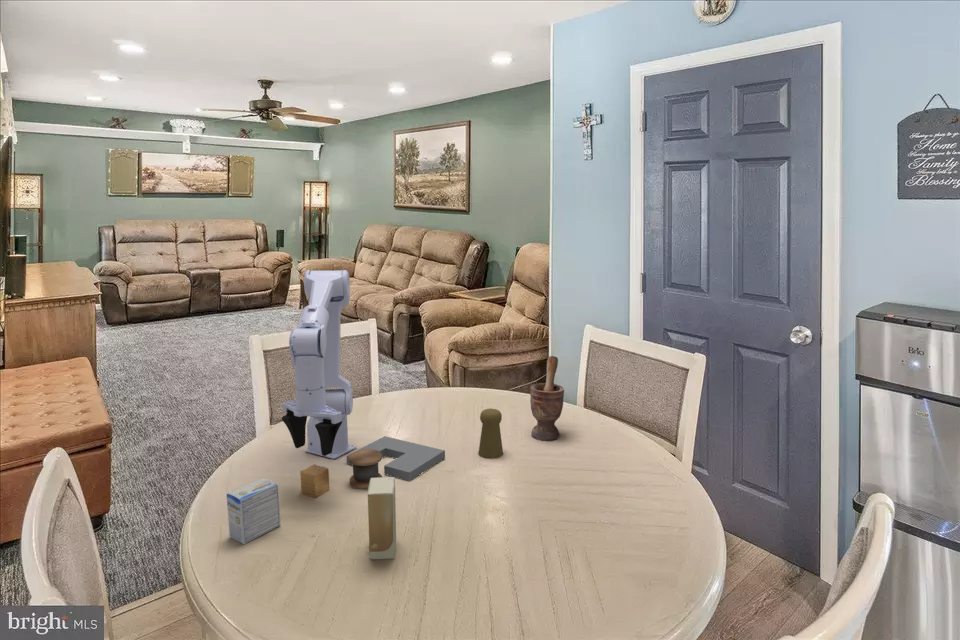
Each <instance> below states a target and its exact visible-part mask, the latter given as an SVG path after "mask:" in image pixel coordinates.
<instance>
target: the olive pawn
mask: <svg viewBox="0 0 960 640" xmlns="http://www.w3.org/2000/svg"><path fill="white" fill-rule="evenodd" d="M502 415H503V414H502V413H501V411H500V410H498V409H496V408H486V409H484V410H482V411H481V412H480V415H479V417H480V418H479V419H480V422H481V423H482V426H481V432H480V439H479V448H478V453H477V454H478V456H479V457H481V458H484V459H491V460H492V459H499V458H501V457H503V455H504V449H503V441H502V440H503V439H502V433H501V427H500V426H501V425H500V424H501V422H502V420H503V419H502V418H503V417H502Z"/></svg>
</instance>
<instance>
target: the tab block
mask: <svg viewBox="0 0 960 640" xmlns="http://www.w3.org/2000/svg"><path fill="white" fill-rule="evenodd" d="M329 470H330V469H329V467H325V466H322V465H318V464H312V465H310V466H308V467H306V468H304V469H302V470H300V471H299V472H300V473H299V474H300V476H299V477H300V492H301V494H302V495H304V496H307V497H310V498H313V499H317V498H319V497H321V496H322V495H325V494H326V493H328V492H330V474H329Z"/></svg>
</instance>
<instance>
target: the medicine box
mask: <svg viewBox="0 0 960 640" xmlns="http://www.w3.org/2000/svg"><path fill="white" fill-rule="evenodd" d="M226 504H227V505H226V506H227V516H228V518H227V519H228V531H229V537H230V538H231V539H233V540H235V541H237V542H238V543H240V544H241V545H245V544H247V543H249V542H251V541H253V540H255V539H256V538H259V537H261V536H263V535H265V534H267V533H268V532H270V531H273V530H274V529H276V528H278V527H281V515H280V513H281V512H280V511H281V510H280V508H281V507H280V492H279V484H278V483H277V482H274V481H272V480H270V479H267V478H264V477H262V478H260V479H257V480H256V481H253V482H251V483H248V484H246V485H243V486H241V487H239V488H236V489H235V490H232V491H230V492H228V493H226Z"/></svg>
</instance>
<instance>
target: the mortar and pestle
mask: <svg viewBox="0 0 960 640" xmlns="http://www.w3.org/2000/svg"><path fill="white" fill-rule="evenodd" d="M558 365H559V358H558V357H557V356H554V355H550V356H548V358H547V361H546V379H545V382H544V383H543V382H540V383H534V384H532V385H530V387H529V389H530V391H529V394H530V398H529V399H530V400H529V401H530V409H531V414H532V416H533V418H534V419H535V420H536V422H537V423H536V425H535V426H533V428H532V430H531V436H532V437H533V438H535V439H537V440H538V441H551V440H557V439H559V438H560V435H561V433H560V432H559V428H558V427H557V426H556V424H555V423H556V422H557V421H558V419H559V418H560V417H561V414H562V411H563V407H564V396H565V389H564V387H563V386H561V385H560V384H555V378H556V377H555V376H556V373H557V369H558Z"/></svg>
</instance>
